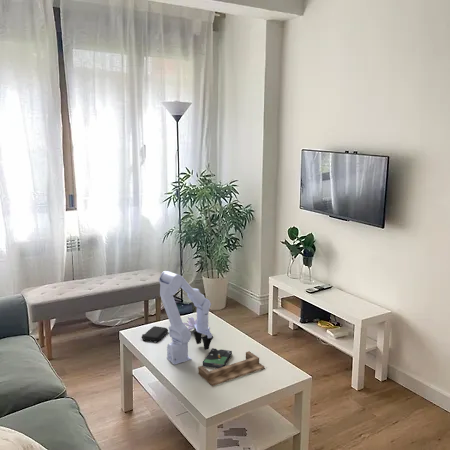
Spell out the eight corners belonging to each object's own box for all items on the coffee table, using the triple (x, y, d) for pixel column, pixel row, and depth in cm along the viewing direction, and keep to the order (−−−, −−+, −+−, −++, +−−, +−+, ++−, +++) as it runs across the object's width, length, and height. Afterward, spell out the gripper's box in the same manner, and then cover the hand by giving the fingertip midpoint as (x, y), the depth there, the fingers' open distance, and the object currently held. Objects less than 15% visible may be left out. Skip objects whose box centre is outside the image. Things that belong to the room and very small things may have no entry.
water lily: (188, 343, 254) (189, 327, 260) (213, 338, 250) (213, 322, 255) (175, 333, 244) (176, 317, 249) (201, 327, 239) (201, 311, 244)
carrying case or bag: (151, 329, 256) (138, 341, 242) (151, 324, 255) (138, 335, 241) (169, 332, 253) (157, 343, 239) (169, 327, 252) (157, 338, 238)
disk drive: (211, 353, 230) (202, 367, 216) (211, 348, 229) (202, 361, 215) (232, 356, 227) (223, 370, 213) (232, 350, 226) (223, 364, 212)
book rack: (212, 386, 199) (212, 378, 198) (198, 374, 209) (198, 366, 208) (264, 368, 214) (264, 361, 213) (249, 358, 224) (249, 351, 223)
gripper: (217, 324, 226) (217, 350, 229) (202, 314, 238) (202, 339, 240) (204, 327, 222) (204, 353, 225) (189, 317, 234) (190, 342, 237)
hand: (202, 346), depth 232 cm, fingers open, 7 cm apart
